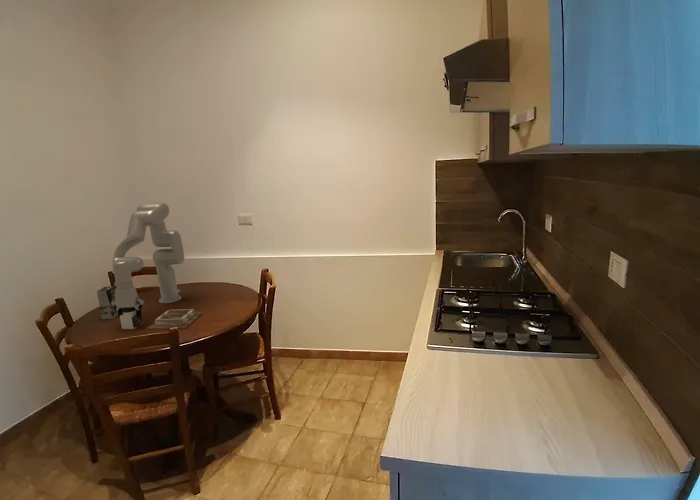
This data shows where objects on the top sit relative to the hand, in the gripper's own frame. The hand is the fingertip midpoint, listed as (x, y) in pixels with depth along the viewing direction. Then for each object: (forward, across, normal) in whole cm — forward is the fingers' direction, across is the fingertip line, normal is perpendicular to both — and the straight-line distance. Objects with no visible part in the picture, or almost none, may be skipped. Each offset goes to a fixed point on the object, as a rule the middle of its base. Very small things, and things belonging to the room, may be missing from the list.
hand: (130, 317), depth 222 cm
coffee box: (+5, -22, +16) cm, 28 cm away
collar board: (+5, +21, +5) cm, 22 cm away
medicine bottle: (+6, 0, 0) cm, 6 cm away
